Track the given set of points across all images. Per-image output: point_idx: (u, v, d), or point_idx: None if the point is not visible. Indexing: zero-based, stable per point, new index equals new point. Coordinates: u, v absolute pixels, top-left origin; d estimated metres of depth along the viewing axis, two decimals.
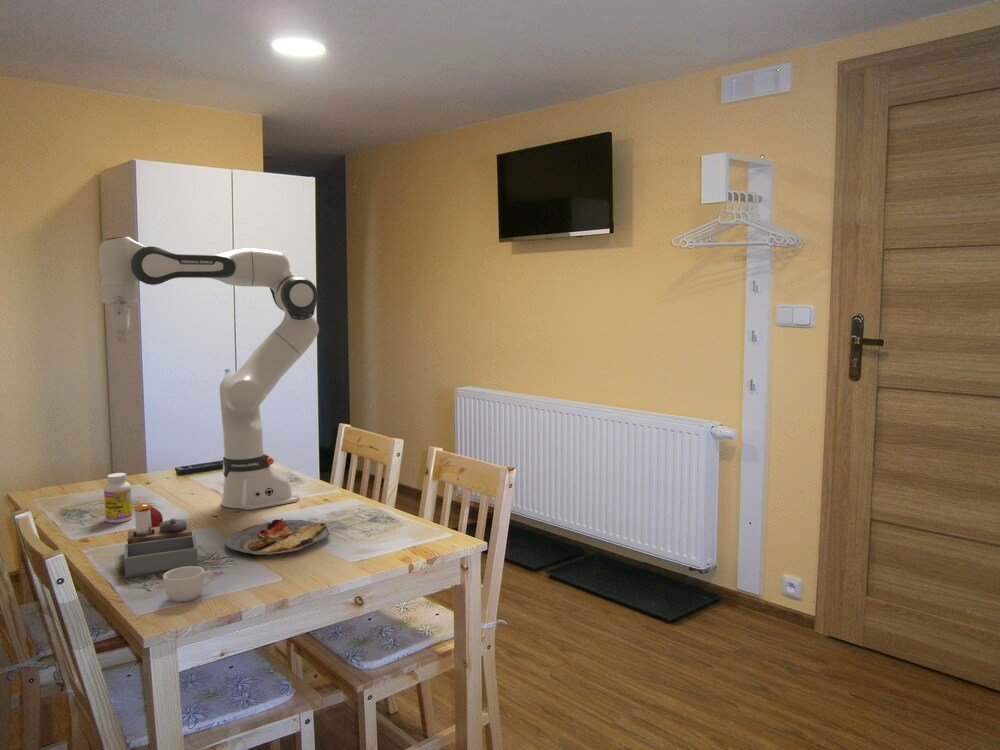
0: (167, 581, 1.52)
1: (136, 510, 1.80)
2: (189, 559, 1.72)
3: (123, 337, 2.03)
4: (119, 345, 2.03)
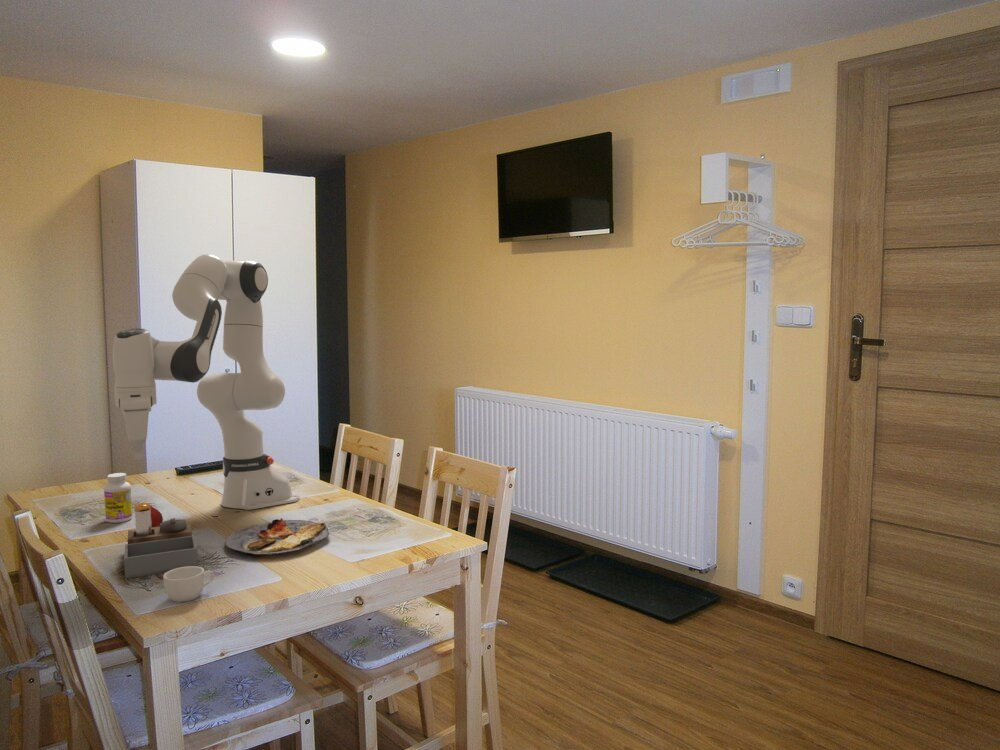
0: (167, 581, 1.52)
1: (136, 510, 1.80)
2: (189, 559, 1.72)
3: None
4: None
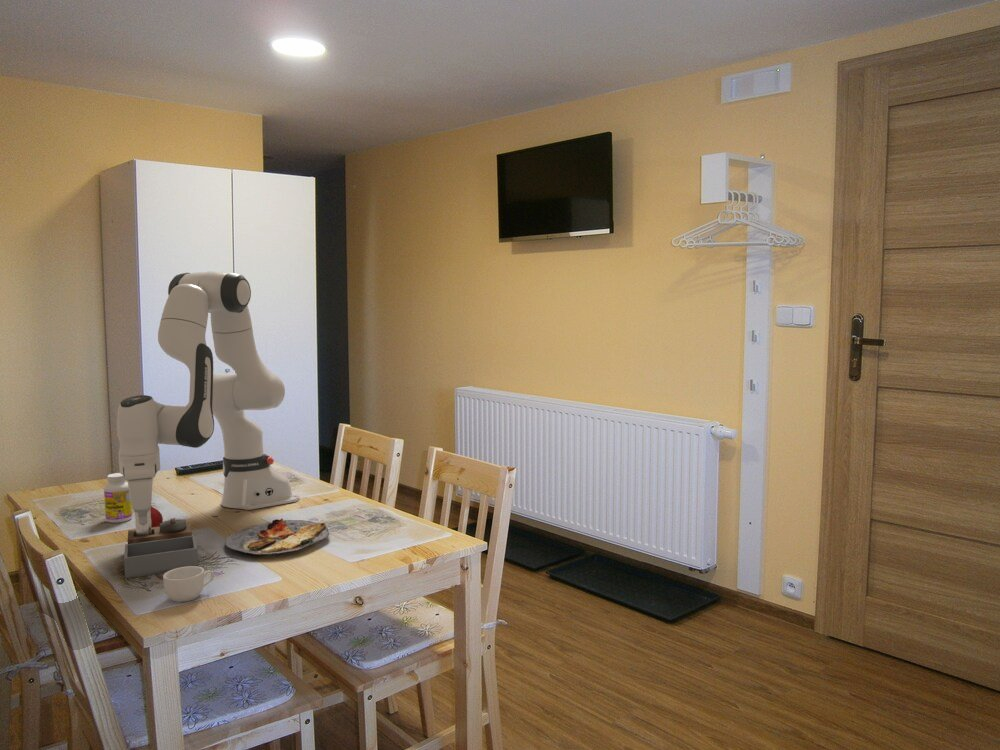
0: (167, 581, 1.52)
1: None
2: (189, 559, 1.72)
3: None
4: None
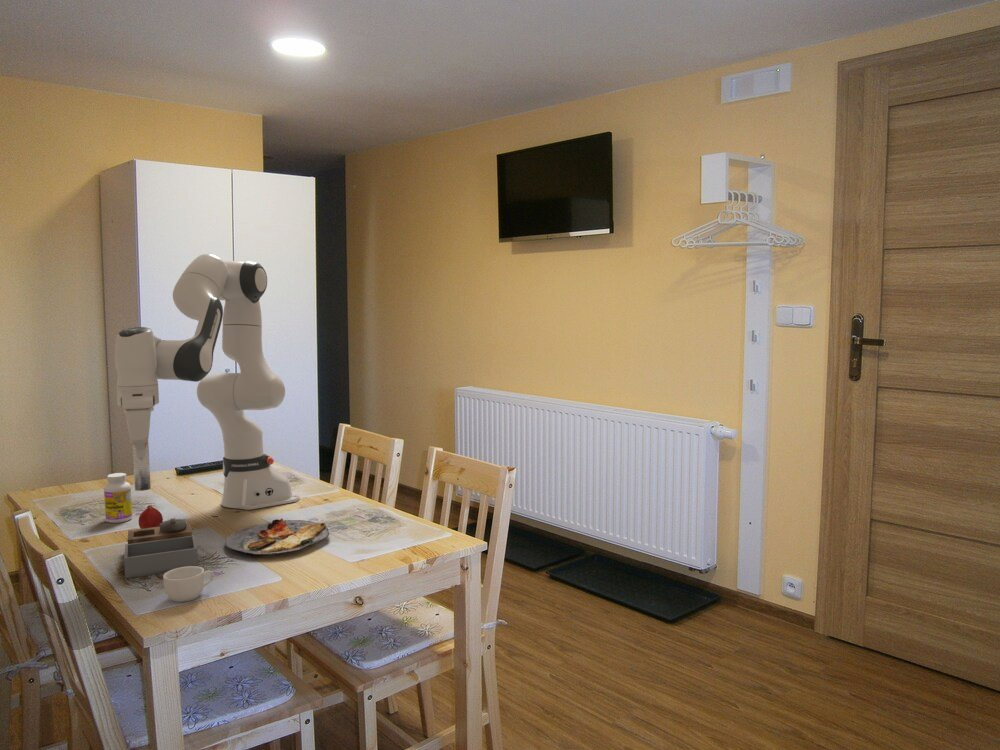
0: (167, 581, 1.52)
1: (134, 444, 1.76)
2: (189, 559, 1.72)
3: None
4: None
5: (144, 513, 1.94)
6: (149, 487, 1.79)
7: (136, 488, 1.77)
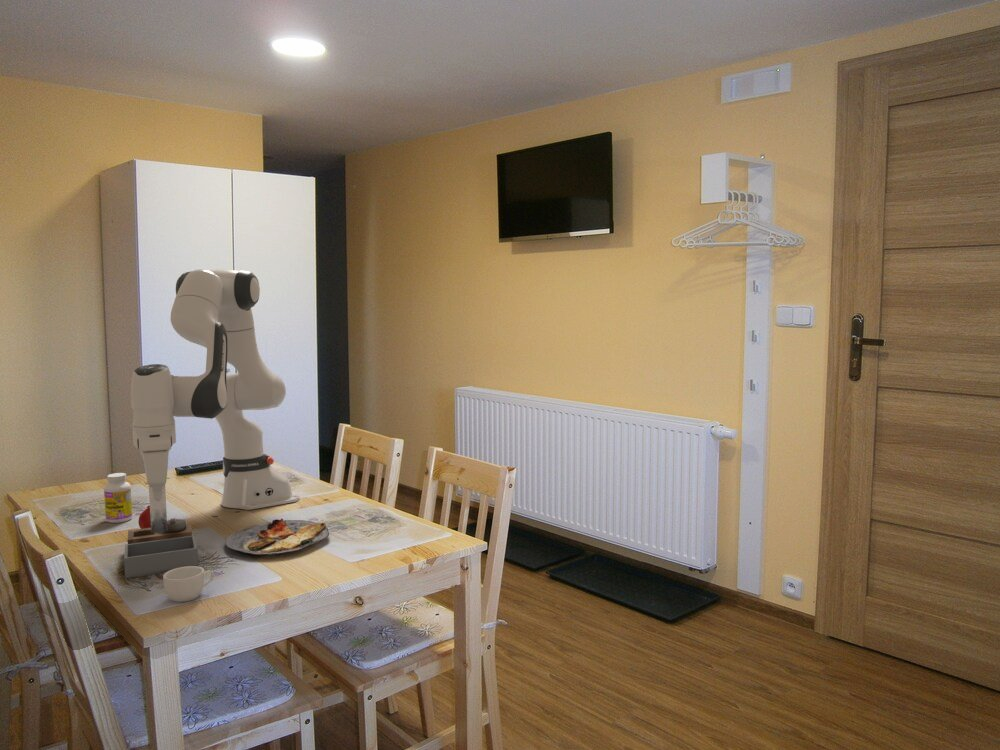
0: (167, 581, 1.52)
1: None
2: (189, 559, 1.72)
3: None
4: None
5: (144, 513, 1.94)
6: (166, 529, 1.73)
7: (152, 530, 1.72)
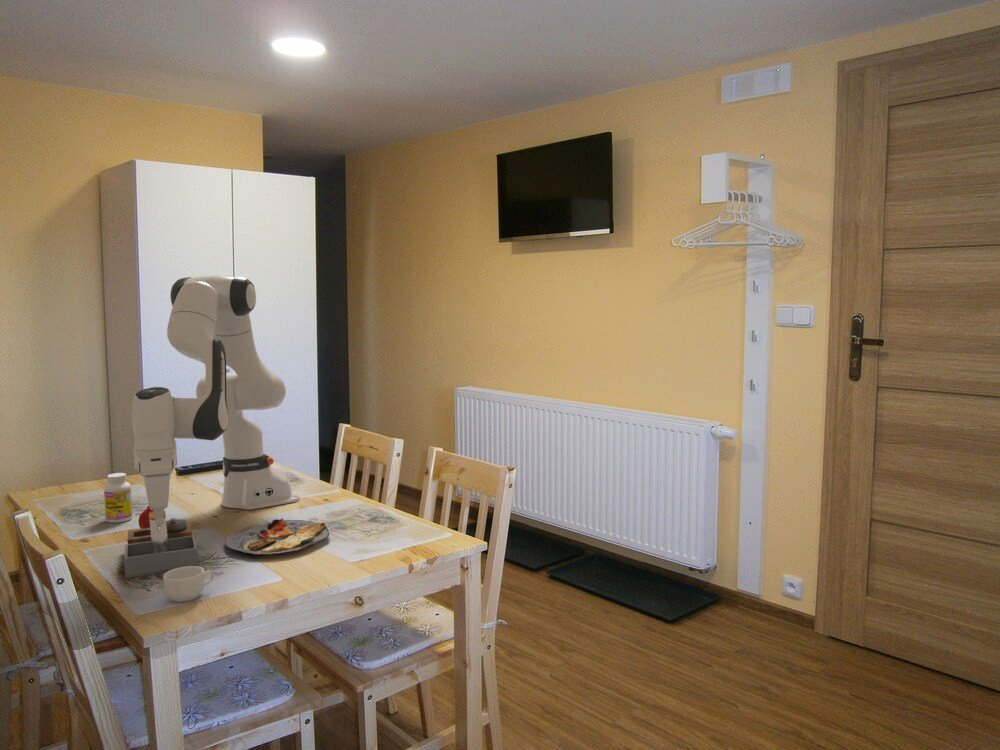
0: (167, 581, 1.52)
1: (151, 518, 1.71)
2: (189, 559, 1.72)
3: None
4: None
5: (144, 513, 1.94)
6: None
7: None
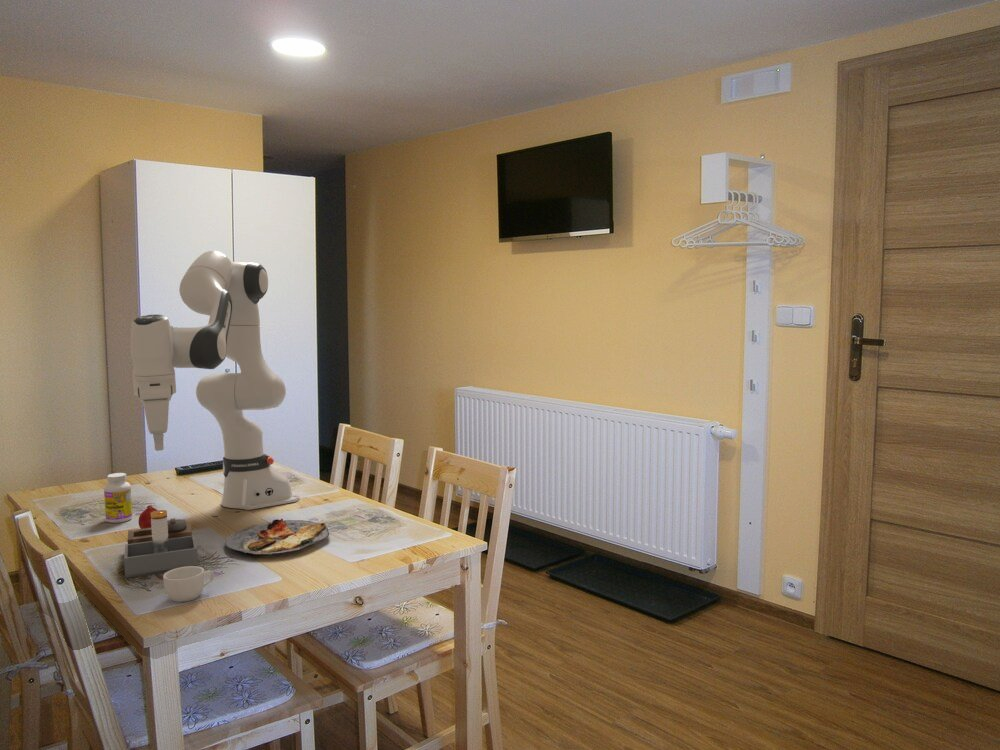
0: (167, 581, 1.52)
1: (152, 517, 1.72)
2: (189, 559, 1.72)
3: None
4: None
5: (144, 513, 1.94)
6: None
7: None
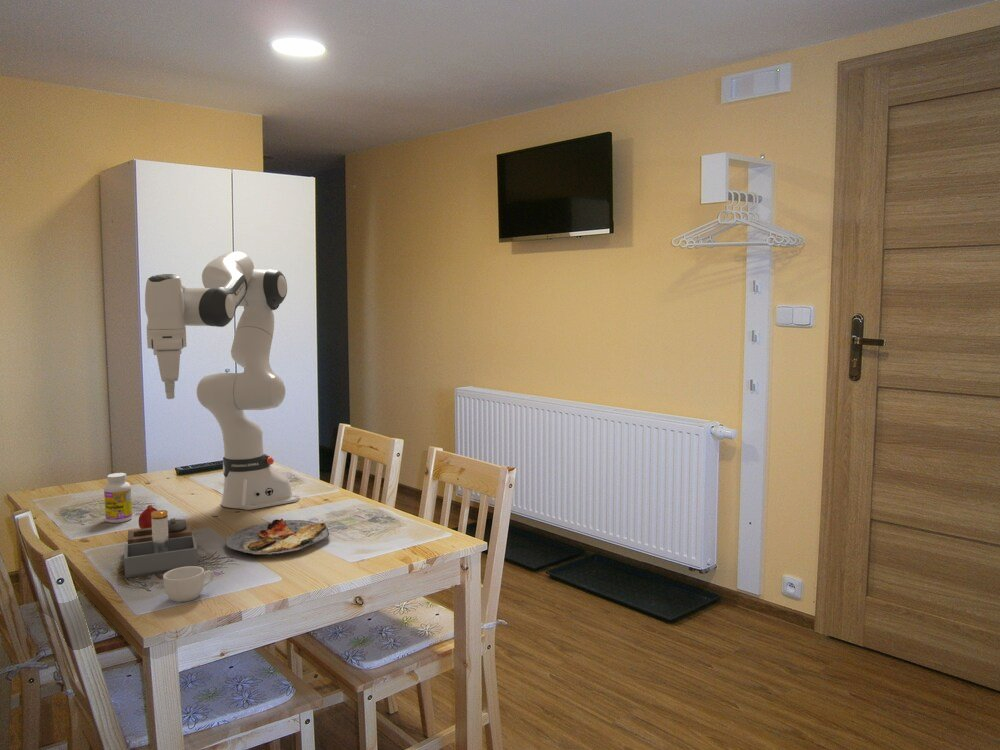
0: (167, 581, 1.52)
1: (153, 518, 1.72)
2: (189, 559, 1.72)
3: None
4: None
5: (144, 513, 1.94)
6: None
7: None
